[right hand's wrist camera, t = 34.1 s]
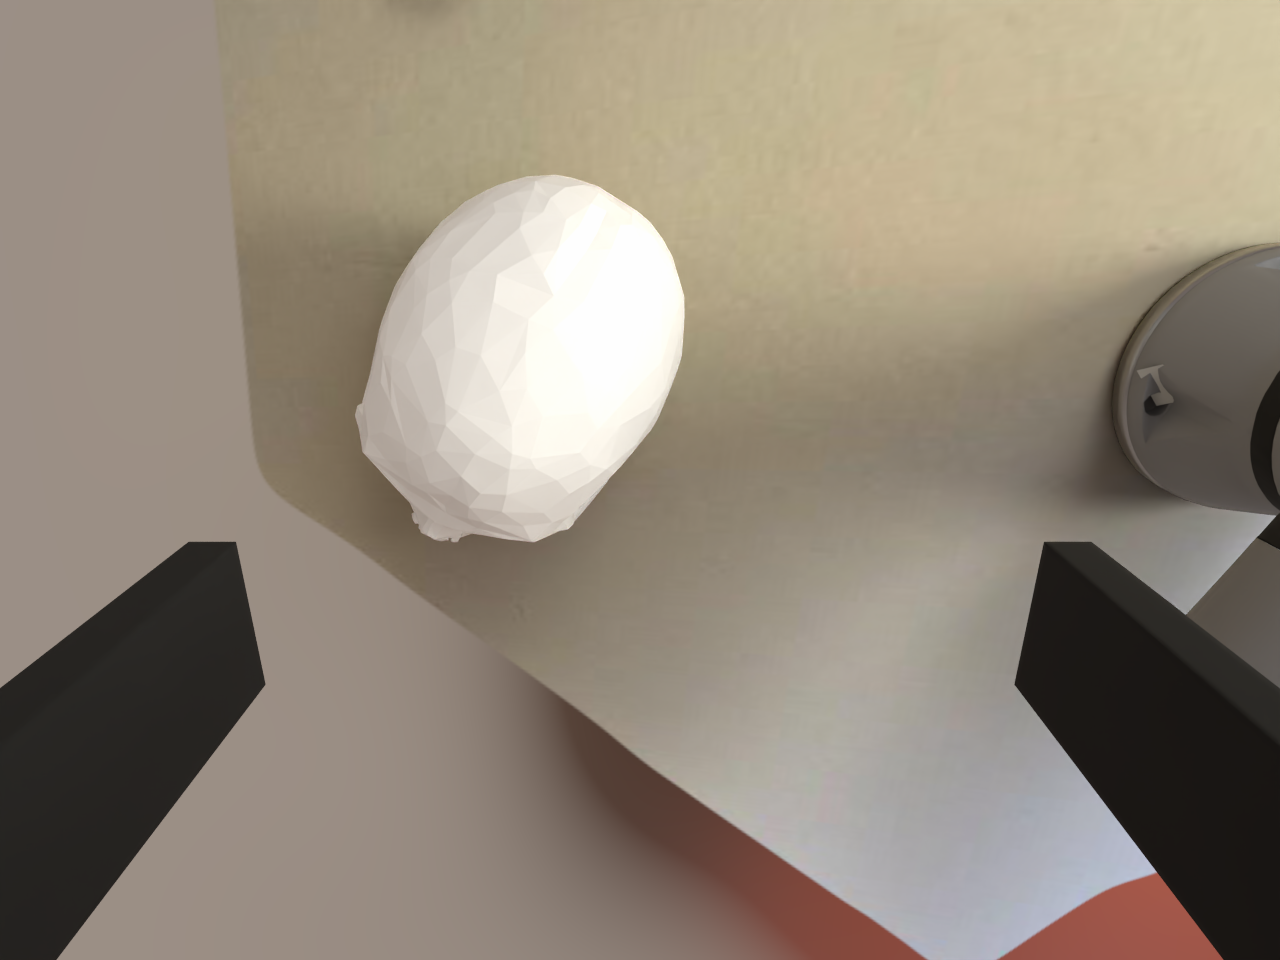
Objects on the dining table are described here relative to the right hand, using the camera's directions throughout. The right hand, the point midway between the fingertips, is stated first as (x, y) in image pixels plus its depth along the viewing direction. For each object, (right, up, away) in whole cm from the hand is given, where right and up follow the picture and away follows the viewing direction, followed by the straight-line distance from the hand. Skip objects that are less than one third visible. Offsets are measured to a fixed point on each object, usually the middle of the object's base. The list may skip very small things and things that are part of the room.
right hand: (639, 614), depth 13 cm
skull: (-7, +9, +32) cm, 34 cm away
